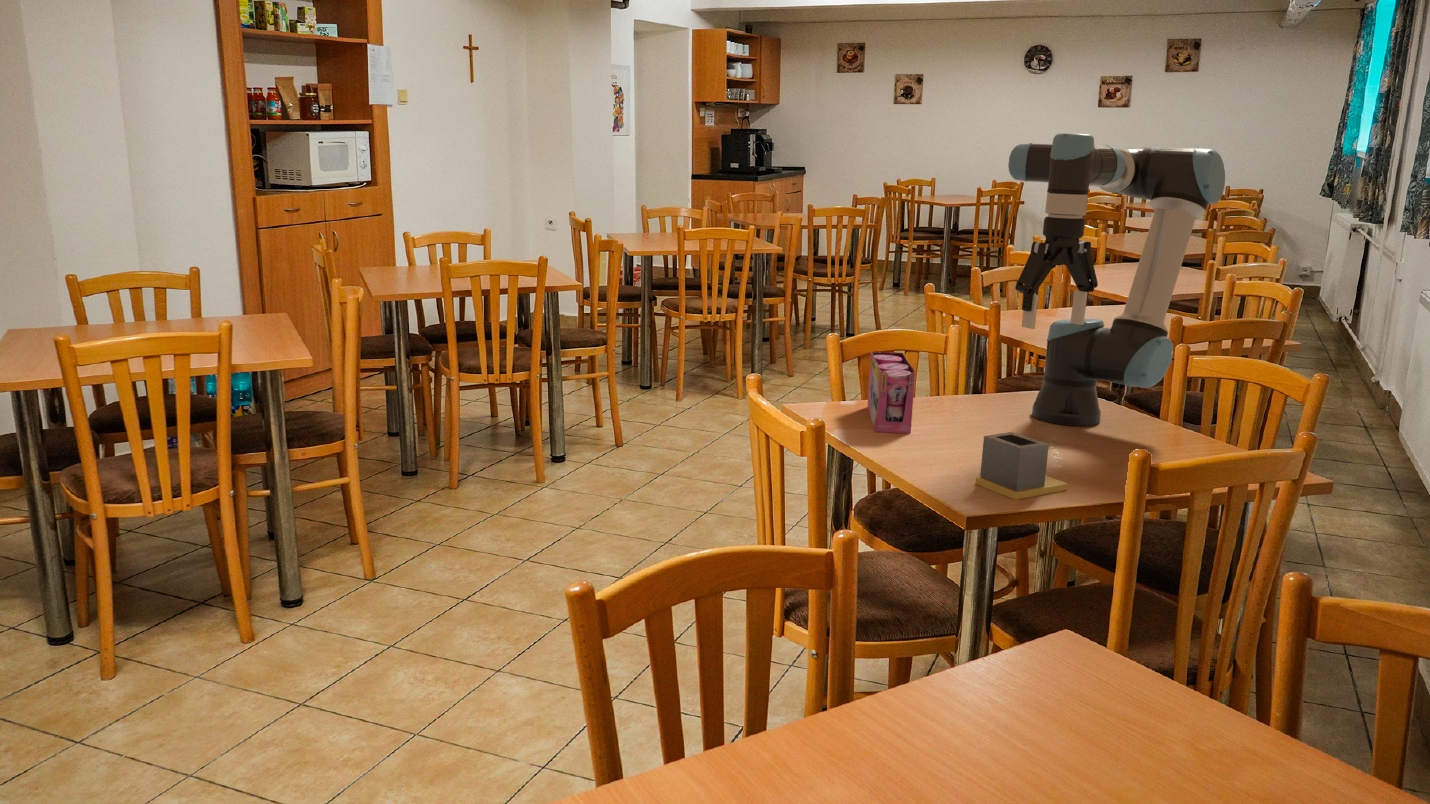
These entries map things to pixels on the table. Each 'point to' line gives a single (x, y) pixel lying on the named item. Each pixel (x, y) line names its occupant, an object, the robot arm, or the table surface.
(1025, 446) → the grey open box
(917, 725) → the table surface
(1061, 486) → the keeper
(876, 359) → the gum box
